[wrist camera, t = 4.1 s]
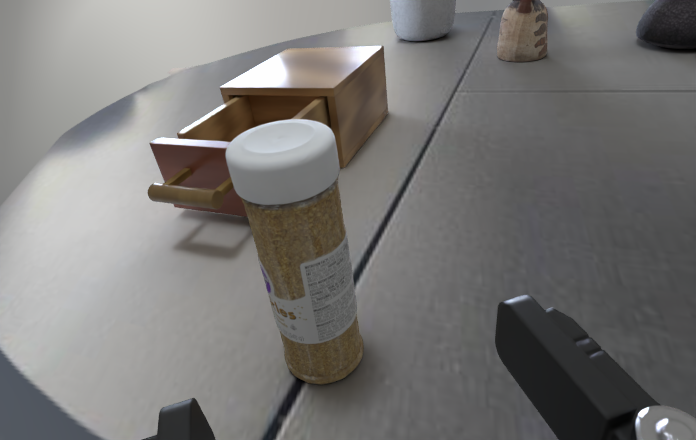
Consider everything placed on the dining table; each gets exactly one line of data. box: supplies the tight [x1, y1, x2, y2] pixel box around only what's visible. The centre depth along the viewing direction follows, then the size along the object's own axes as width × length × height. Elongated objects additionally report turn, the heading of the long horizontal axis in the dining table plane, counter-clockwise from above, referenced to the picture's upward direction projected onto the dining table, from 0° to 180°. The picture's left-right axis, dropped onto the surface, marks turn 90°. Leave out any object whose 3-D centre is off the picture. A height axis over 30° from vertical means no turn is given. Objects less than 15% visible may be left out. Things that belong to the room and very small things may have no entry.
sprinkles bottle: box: [226, 119, 363, 384], centre depth 22 cm, size 5×5×14 cm
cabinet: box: [220, 46, 388, 168], centre depth 50 cm, size 15×13×8 cm
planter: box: [390, 0, 456, 41], centre depth 84 cm, size 12×12×11 cm
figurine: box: [497, 0, 548, 62], centre depth 66 cm, size 7×7×12 cm
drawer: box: [148, 95, 332, 217], centre depth 40 cm, size 18×11×6 cm, turn 158°
